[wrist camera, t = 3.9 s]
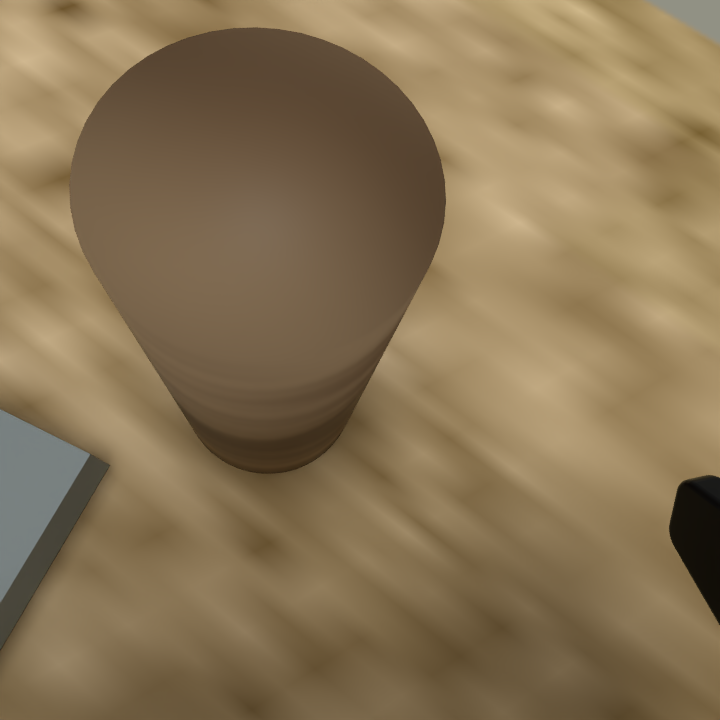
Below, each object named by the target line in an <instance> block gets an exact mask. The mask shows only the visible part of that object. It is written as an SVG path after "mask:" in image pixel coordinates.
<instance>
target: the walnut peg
mask: <svg viewBox="0 0 720 720" xmlns="http://www.w3.org/2000/svg"><path fill="white" fill-rule="evenodd" d="M69 186H70V208H71V213H72V218H73V223H74V228H75V232H76V234H77V237H78V240H79V243H80V245H81V248H82V251H83V253H84V255H85V257H86V259H87V261H88V262H89V264H90V266H91V268H92V270H93V272H94V273H95V275H96V277H97V278H98V280H99V281H100V283H101V284H102V286H103V288H104V289H105V291H106V292H107V294H108V296H109V297H110V299H111V300H112V302H113V303H114V305H115V307H116V308H117V310H118V311H119V313H120V314H121V316H122V318H123V319H124V321H125V322H126V324H127V325H128V327H129V329H130V330H131V332H132V333H133V335H134V337H135V338H136V340H137V341H138V343H139V344H140V346H141V348H142V349H143V351H144V352H145V354H146V355H147V357H148V359H149V360H150V362H151V363H152V365H153V366H154V368H155V370H156V371H157V373H158V374H159V376H160V377H161V379H162V381H163V382H164V384H165V385H166V387H167V389H168V390H169V392H170V393H171V395H172V396H173V398H174V400H175V401H176V403H177V404H178V406H179V407H180V409H181V411H182V412H183V414H184V415H185V417H186V418H187V420H188V422H189V423H190V425H191V426H192V428H193V430H194V431H195V433H196V434H197V436H198V437H199V438H200V440H201V441H202V443H203V444H204V445H205V446H206V447H207V448H208V449H209V450H210V451H211V452H212V453H213V454H215V455H216V456H217V457H218V458H220V459H221V460H223V461H225V462H226V463H228V464H230V465H232V466H234V467H237V468H239V469H242V470H246V471H250V472H256V473H280V472H286V471H290V470H294V469H297V468H299V467H302V466H304V465H307V464H308V463H310V462H312V461H314V460H315V459H317V458H318V457H319V456H321V455H322V454H323V453H325V452H326V451H327V450H328V449H329V448H330V447H331V446H332V445H333V443H334V442H335V441H336V440H337V438H338V437H339V436H340V434H341V432H342V430H343V429H344V427H345V425H346V423H347V421H348V419H349V417H350V416H351V414H352V412H353V410H354V408H355V406H356V404H357V402H358V400H359V399H360V397H361V395H362V393H363V391H364V389H365V387H366V385H367V383H368V382H369V380H370V378H371V376H372V374H373V372H374V370H375V368H376V366H377V365H378V363H379V361H380V359H381V357H382V355H383V353H384V351H385V349H386V348H387V346H388V344H389V342H390V340H391V338H392V336H393V334H394V332H395V331H396V329H397V327H398V325H399V323H400V321H401V319H402V317H403V315H404V314H405V312H406V310H407V308H408V306H409V304H410V302H411V300H412V298H413V297H414V295H415V293H416V291H417V289H418V287H419V285H420V283H421V281H422V280H423V278H424V276H425V274H426V272H427V270H428V268H429V266H430V264H431V262H432V260H433V257H434V255H435V252H436V250H437V247H438V245H439V241H440V237H441V233H442V229H443V224H444V217H445V205H446V195H445V179H444V174H443V169H442V164H441V159H440V157H439V154H438V151H437V148H436V145H435V142H434V139H433V137H432V135H431V133H430V131H429V129H428V127H427V125H426V124H425V122H424V120H423V118H422V117H421V115H420V114H419V112H418V111H417V109H416V108H415V107H414V105H413V104H412V102H411V101H410V100H409V99H408V98H407V97H406V95H405V94H404V93H403V92H402V91H401V90H400V89H399V87H398V86H397V85H395V84H394V83H393V82H392V81H391V80H390V79H389V78H388V77H387V76H385V75H384V74H383V73H382V72H381V71H379V70H378V69H377V68H375V67H374V66H372V65H371V64H370V63H368V62H367V61H365V60H364V59H362V58H361V57H359V56H357V55H355V54H353V53H351V52H350V51H348V50H346V49H344V48H342V47H339V46H337V45H335V44H332V43H330V42H327V41H325V40H322V39H319V38H316V37H312V36H309V35H305V34H302V33H297V32H291V31H286V30H280V29H269V28H233V29H226V30H219V31H212V32H208V33H204V34H200V35H196V36H192V37H189V38H186V39H183V40H181V41H178V42H176V43H173V44H171V45H168V46H166V47H164V48H162V49H160V50H158V51H157V52H155V53H153V54H151V55H149V56H147V57H146V58H144V59H143V60H142V61H140V62H139V63H137V64H136V65H134V66H133V67H132V68H130V69H129V70H128V71H127V72H126V73H124V74H123V75H122V76H121V77H120V78H119V79H118V80H117V81H116V82H115V83H114V84H112V86H111V87H110V88H109V89H108V90H107V92H106V93H105V94H104V95H103V96H102V98H101V99H100V100H99V101H98V103H97V104H96V106H95V108H94V109H93V111H92V112H91V114H90V116H89V117H88V119H87V121H86V123H85V125H84V127H83V130H82V132H81V134H80V137H79V139H78V141H77V145H76V149H75V153H74V156H73V160H72V166H71V175H70V184H69Z"/></svg>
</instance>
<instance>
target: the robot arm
mask: <svg viewBox="0 0 720 720" xmlns="http://www.w3.org/2000/svg"><path fill="white" fill-rule="evenodd" d="M669 532H670V537H671V540H672V543H673V545H674V547H675V549H676V550H677V552H678V554H679V556H680V557H681V559H682V561H683V563H684V564H685V566H686V568H687V569H688V571H689V573H690V575H691V576H692V578H693V580H694V582H695V583H696V585H697V587H698V588H699V590H700V592H701V594H702V595H703V597H704V599H705V601H706V602H707V604H708V606H709V608H710V609H711V611H712V613H713V614H714V616H715V618H716V620H717V621H718V623H719V625H720V478H719V477H716V476H712V475H706V476H701V477H697V478H692V479H688V480H685V481H683V482H682V483H681V484H680V485H679V486H678V489H677V493H676V497H675V502H674V506H673V511H672V515H671V520H670V525H669Z"/></svg>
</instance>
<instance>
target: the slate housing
mask: <svg viewBox="0 0 720 720" xmlns="http://www.w3.org/2000/svg"><path fill="white" fill-rule="evenodd" d="M109 466H110V465H109V464H107V463H105V462H103V461H102V460H100V459H98V458H96V457H94V456H93V455H91V454H89V453H87V452H85V451H83V450H81V449H79V448H77V447H75V446H73V445H71V444H69V443H67V442H65V441H63V440H61V439H59V438H57V437H55V436H53V435H51V434H49V433H47V432H45V431H43V430H41V429H39V428H37V427H35V426H33V425H31V424H29V423H27V422H25V421H23V420H21V419H19V418H17V417H15V416H13V415H11V414H9V413H7V412H5V411H3V410H1V409H0V650H1V648H2V646H3V644H4V643H5V641H6V639H7V638H8V636H9V634H10V633H11V631H12V629H13V628H14V626H15V624H16V623H17V621H18V619H19V617H20V616H21V614H22V612H23V611H24V609H25V607H26V606H27V604H28V602H29V601H30V599H31V597H32V596H33V594H34V592H35V591H36V589H37V587H38V585H39V584H40V582H41V580H42V579H43V577H44V575H45V574H46V572H47V570H48V569H49V567H50V565H51V564H52V562H53V560H54V558H55V557H56V555H57V553H58V552H59V550H60V548H61V547H62V545H63V543H64V542H65V540H66V538H67V537H68V535H69V533H70V531H71V530H72V528H73V526H74V525H75V523H76V521H77V520H78V518H79V516H80V515H81V513H82V511H83V510H84V508H85V506H86V504H87V503H88V501H89V499H90V498H91V496H92V494H93V493H94V491H95V489H96V488H97V486H98V484H99V483H100V481H101V479H102V477H103V476H104V474H105V472H106V471H107V469H108V467H109Z"/></svg>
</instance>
